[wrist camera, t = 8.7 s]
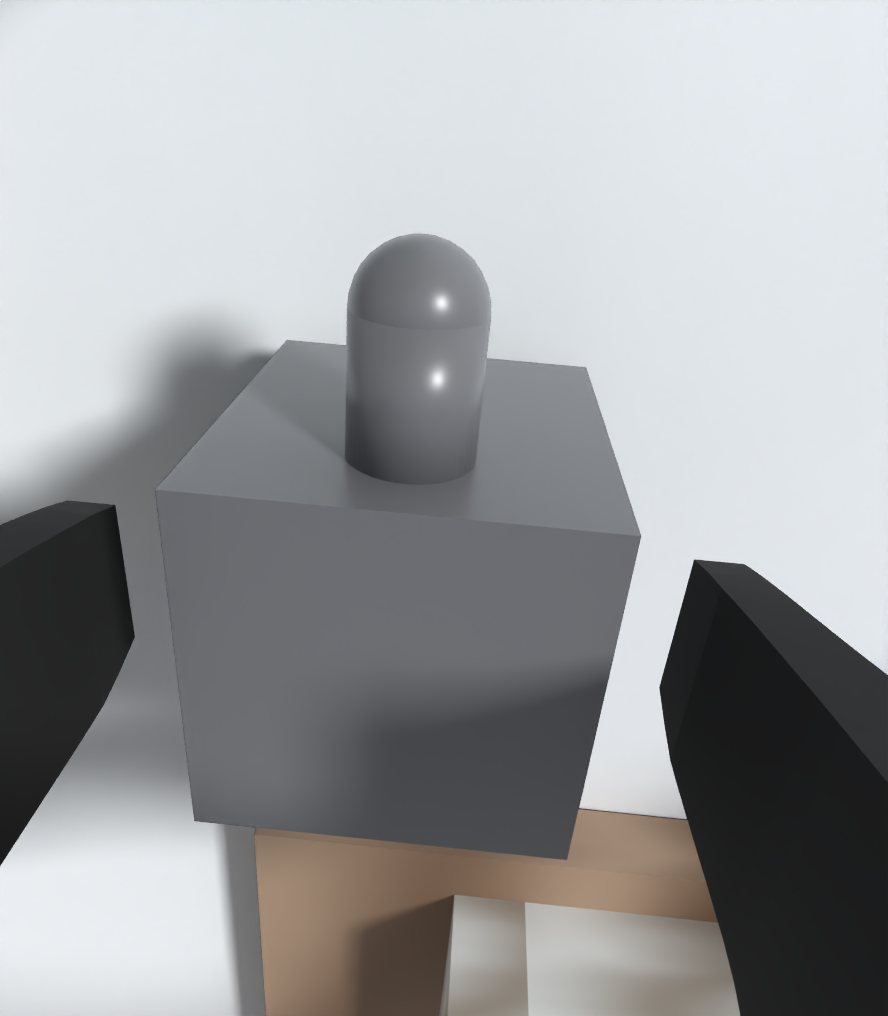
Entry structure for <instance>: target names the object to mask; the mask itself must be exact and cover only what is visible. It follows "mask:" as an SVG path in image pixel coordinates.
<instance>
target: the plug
mask: <svg viewBox="0 0 888 1016" xmlns="http://www.w3.org/2000/svg"><path fill="white" fill-rule="evenodd" d="M490 322H491V299H490V294H489V289H488V286H487V283H486V281H485V278H484V276H483V273H482V271H481V270H480V268H479V267H478V265H477V264H476V262H475V261H474V260H473V259H472V258H471V257H470V256H469V255H468V254H467V253H466V252H465V251H464V250H463V249H462V248H460V247H459V246H457V245H456V244H454V243H452V242H451V241H449V240H446V239H443V238H441V237H438V236H435V235H429V234H409V235H404V236H399V237H396V238H394V239H392V240H389V241H387V242H385V243H383V244H382V245H380V246H379V247H378V248H376V249H375V250H374V251H372V252H371V253H370V254H369V255H368V256H367V257H366V258H365V260H364V261H363V262H362V263H361V264H360V266H359V268H358V270H357V272H356V273H355V275H354V278H353V281H352V284H351V287H350V290H349V294H348V303H347V345H336V344H325V343H314V342H303V341H292V340H287V341H286V342H285V343H284V344H283V345H282V346H281V347H280V349H279V350H278V351H277V352H276V353H275V354H274V355H273V356H272V358H271V359H270V360H269V361H268V362H267V363H266V364H265V366H264V367H263V368H262V369H261V370H260V371H259V372H258V373H257V375H256V376H255V377H254V378H253V379H252V380H251V381H250V383H249V384H248V385H247V386H246V387H245V388H244V389H243V390H242V392H241V393H240V394H239V395H238V396H237V397H236V398H235V400H234V401H233V402H232V403H231V404H230V405H229V406H228V407H227V409H226V410H225V411H224V412H223V413H222V414H221V415H220V417H219V418H218V419H217V420H216V421H215V422H214V423H213V424H212V426H211V427H210V428H209V429H208V430H207V431H206V432H205V434H204V435H203V436H202V437H201V438H200V439H199V440H198V441H197V443H196V444H195V445H194V446H193V447H192V448H191V449H190V451H189V452H188V453H187V454H186V455H185V456H184V457H183V459H182V460H181V461H180V462H179V463H178V464H177V465H176V466H175V468H174V469H173V470H172V471H171V472H170V473H169V474H168V476H167V477H166V478H165V479H164V480H163V481H162V482H161V483H160V485H159V486H158V487H157V488H156V489H155V492H156V501H157V509H158V518H159V526H160V534H161V543H162V551H163V560H164V568H165V577H166V585H167V594H168V602H169V610H170V619H171V627H172V636H173V644H174V653H175V661H176V670H177V678H178V686H179V695H180V703H181V712H182V720H183V729H184V737H185V746H186V754H187V762H188V771H189V779H190V788H191V796H192V805H193V813H194V821H199V822H208V823H218V824H227V825H237V826H247V827H256V828H266V829H275V830H285V831H294V832H304V833H313V834H323V835H332V836H342V837H351V838H361V839H370V840H380V841H389V842H399V843H408V844H418V845H427V846H437V847H447V848H456V849H466V850H475V851H485V852H494V853H504V854H513V855H523V856H532V857H542V858H551V859H561V860H567V858H568V853H569V849H570V845H571V840H572V836H573V832H574V827H575V823H576V819H577V814H578V810H579V805H580V801H581V797H582V792H583V788H584V784H585V779H586V775H587V770H588V766H589V762H590V757H591V753H592V749H593V744H594V740H595V736H596V731H597V727H598V722H599V718H600V714H601V709H602V705H603V701H604V696H605V692H606V687H607V683H608V679H609V674H610V670H611V666H612V661H613V657H614V653H615V648H616V644H617V639H618V635H619V631H620V626H621V622H622V618H623V613H624V609H625V604H626V600H627V596H628V591H629V587H630V583H631V578H632V574H633V570H634V565H635V561H636V556H637V552H638V548H639V543H640V539H641V534H640V531H639V528H638V525H637V522H636V519H635V516H634V513H633V510H632V507H631V504H630V500H629V497H628V494H627V491H626V488H625V485H624V482H623V479H622V476H621V473H620V470H619V467H618V464H617V461H616V458H615V454H614V451H613V448H612V445H611V442H610V439H609V436H608V433H607V430H606V427H605V424H604V421H603V418H602V415H601V412H600V409H599V405H598V402H597V399H596V396H595V393H594V390H593V387H592V384H591V381H590V378H589V375H588V372H587V369H586V367H576V366H565V365H554V364H543V363H532V362H521V361H510V360H499V359H488V358H487V351H488V341H489V331H490Z"/></svg>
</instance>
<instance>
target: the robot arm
mask: <svg viewBox="0 0 888 1016" xmlns="http://www.w3.org/2000/svg"><path fill="white" fill-rule="evenodd" d="M134 638H135V635H134V628H133V621H132V615H131V608H130V601H129V594H128V588H127V581H126V574H125V567H124V561H123V554H122V547H121V540H120V534H119V527H118V520H117V513H116V507H115V505H108V504H97V503H87V502H76V501H64V502H61V503H58V504H54V505H51V506H48V507H45V508H42V509H40V510H37V511H34V512H32V513H29V514H26V515H24V516H21V517H19V518H16V519H14V520H11V521H9V522H7V523H4V524H2V525H0V866H1V864H2V862H3V861H4V859H5V858H6V856H7V855H8V853H9V852H10V850H11V849H12V847H13V845H14V844H15V842H16V841H17V839H18V838H19V836H20V835H21V833H22V832H23V830H24V828H25V827H26V825H27V824H28V822H29V821H30V819H31V818H32V816H33V815H34V813H35V812H36V810H37V808H38V807H39V805H40V804H41V802H42V801H43V799H44V798H45V796H46V795H47V793H48V792H49V790H50V788H51V787H52V785H53V784H54V782H55V781H56V779H57V778H58V776H59V775H60V773H61V771H62V770H63V768H64V767H65V765H66V764H67V762H68V761H69V759H70V758H71V756H72V754H73V753H74V751H75V750H76V748H77V747H78V745H79V743H80V742H81V740H82V739H83V737H84V736H85V734H86V732H87V731H88V729H89V728H90V726H91V725H92V723H93V721H94V720H95V718H96V716H97V715H98V713H99V712H100V710H101V708H102V707H103V705H104V703H105V701H106V699H107V697H108V695H109V693H110V691H111V689H112V687H113V684H114V682H115V680H116V678H117V676H118V674H119V672H120V670H121V667H122V665H123V663H124V660H125V658H126V656H127V654H128V651H129V649H130V647H131V644H132V642H133V640H134ZM659 688H660V695H661V703H662V710H663V717H664V724H665V731H666V737H667V743H668V749H669V755H670V761H671V764H672V768H673V771H674V775H675V779H676V782H677V786H678V789H679V793H680V796H681V799H682V803H683V806H684V810H685V813H686V817H687V820H688V824H689V827H690V830H691V834H692V837H693V840H694V844H695V847H696V850H697V854H698V857H699V860H700V864H701V867H702V871H703V874H704V877H705V881H706V884H707V887H708V891H709V894H710V897H711V901H712V904H713V907H714V911H715V914H716V918H717V921H718V924H719V928H720V931H721V934H722V938H723V942H724V945H725V949H726V953H727V957H728V961H729V965H730V969H731V973H732V977H733V981H734V986H735V991H736V996H737V1001H738V1006H739V1011H740V1016H888V675H887V674H885V673H884V672H883V671H882V670H880V669H879V668H878V667H876V666H875V665H874V664H872V663H871V662H870V661H869V660H867V659H866V658H865V657H863V656H862V655H861V654H860V653H858V652H857V651H856V650H855V649H853V648H852V647H851V646H849V645H848V644H847V643H846V642H844V641H843V640H842V639H841V638H839V637H838V636H837V635H836V634H834V633H833V632H832V631H831V630H829V629H828V628H827V627H826V626H824V625H823V624H822V623H821V622H819V621H818V620H817V619H816V618H814V617H813V616H812V615H811V614H809V613H808V612H807V611H806V610H804V609H803V608H802V607H801V606H799V605H798V604H797V603H796V602H794V601H793V600H792V599H791V598H789V597H788V596H787V595H786V594H784V593H783V592H782V591H781V590H779V589H778V588H777V587H775V586H774V585H773V584H772V583H770V582H769V581H768V580H766V579H765V578H764V577H762V576H761V575H759V574H758V573H757V572H755V571H754V570H752V569H751V568H749V567H748V566H746V565H744V564H736V563H725V562H715V561H704V560H694V562H693V566H692V570H691V573H690V577H689V581H688V585H687V588H686V592H685V596H684V599H683V603H682V607H681V610H680V614H679V618H678V621H677V625H676V629H675V632H674V636H673V640H672V643H671V647H670V651H669V654H668V658H667V662H666V665H665V669H664V673H663V676H662V680H661V684H660V687H659Z"/></svg>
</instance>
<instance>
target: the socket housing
mask: <svg viewBox="0 0 888 1016" xmlns="http://www.w3.org/2000/svg"><path fill="white" fill-rule="evenodd" d="M254 839H255V854H256V870H257V885H258V901H259V916H260V932H261V947H262V962H263V978H264V993H265V1009H266V1016H740V1011H739V1006H738V1001H737V996H736V991H735V986H734V981H733V977H732V973H731V969H730V965H729V961H728V957H727V953H726V949H725V945H724V942H723V938H722V934H721V931H720V928H719V924H718V921H717V918H716V914H715V911H714V907H713V904H712V901H711V897H710V894H709V891H708V887H707V884H706V881H705V877H704V874H703V871H702V867H701V864H700V860H699V857H698V854H697V850H696V847H695V844H694V840H693V837H692V834H691V830H690V827H689V824H688V820H679V819H669V818H660V817H650V816H640V815H631V814H621V813H611V812H602V811H592V810H582V809H579V810H578V814H577V819H576V823H575V827H574V832H573V836H572V840H571V845H570V849H569V853H568V858H567V860H561V859H551V858H542V857H532V856H523V855H513V854H504V853H494V852H485V851H475V850H466V849H456V848H447V847H437V846H427V845H418V844H408V843H399V842H389V841H380V840H370V839H361V838H351V837H342V836H332V835H323V834H313V833H304V832H294V831H285V830H275V829H266V828H256V830H255V833H254Z"/></svg>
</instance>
